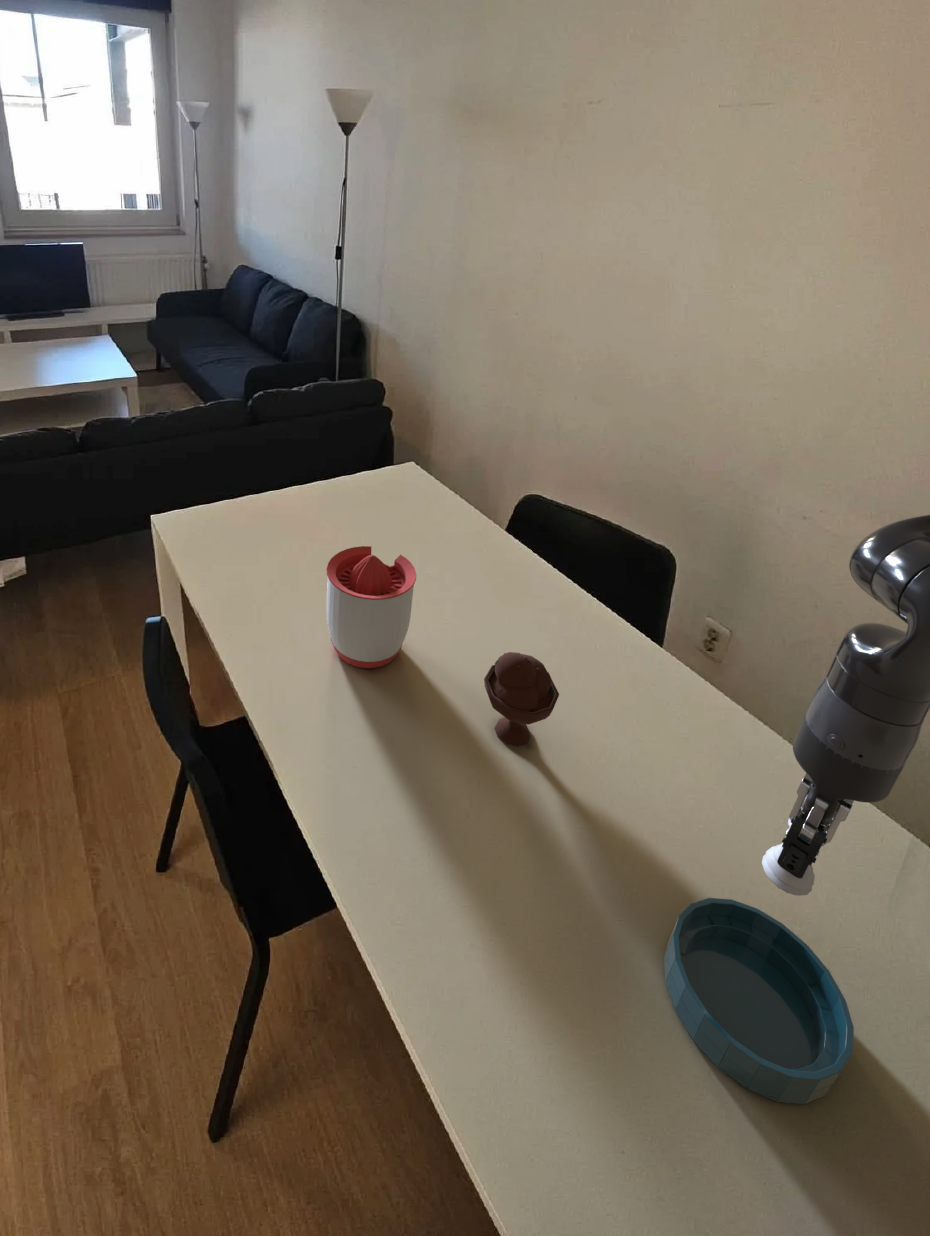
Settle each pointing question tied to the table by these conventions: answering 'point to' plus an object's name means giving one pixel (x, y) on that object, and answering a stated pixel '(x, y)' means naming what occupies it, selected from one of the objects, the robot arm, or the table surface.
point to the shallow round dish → (757, 1000)
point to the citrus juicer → (368, 606)
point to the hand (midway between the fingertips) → (795, 856)
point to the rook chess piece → (787, 873)
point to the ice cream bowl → (519, 695)
